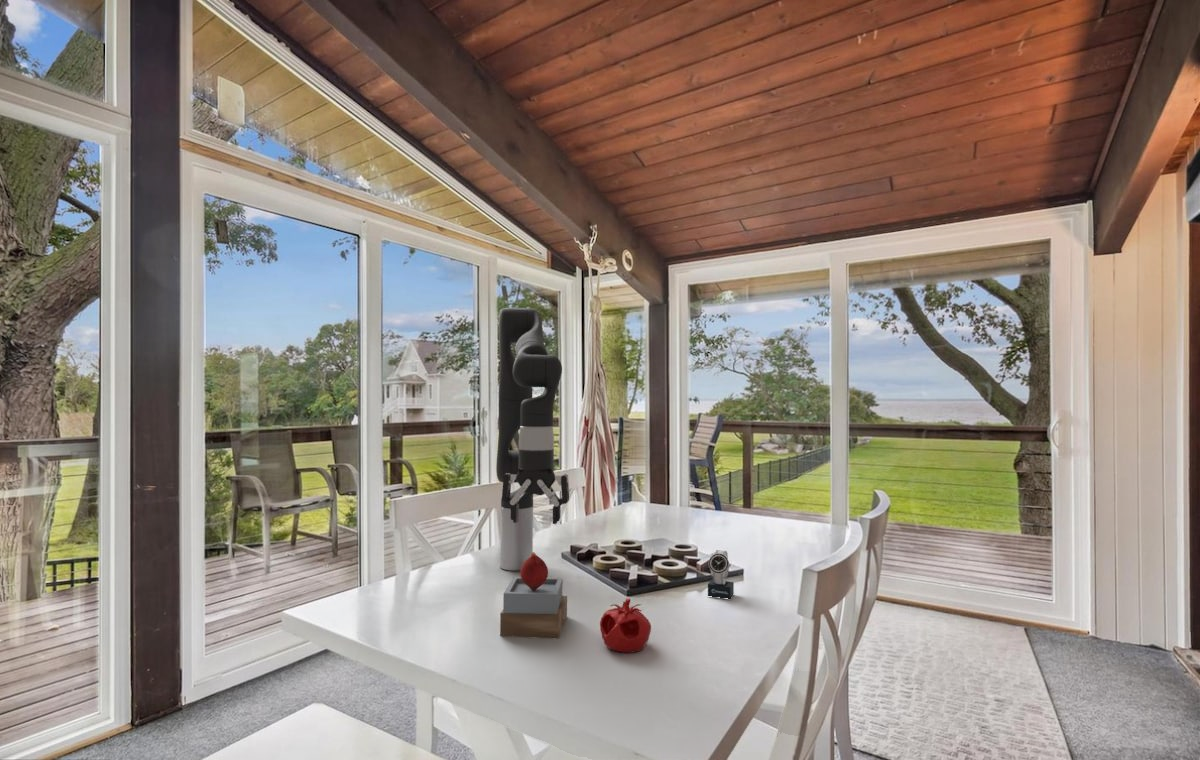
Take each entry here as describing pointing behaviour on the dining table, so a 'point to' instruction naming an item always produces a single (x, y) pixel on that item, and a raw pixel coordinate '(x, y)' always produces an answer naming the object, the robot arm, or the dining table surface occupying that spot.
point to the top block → (533, 597)
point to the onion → (534, 572)
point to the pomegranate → (625, 628)
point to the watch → (720, 576)
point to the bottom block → (534, 623)
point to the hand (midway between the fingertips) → (535, 522)
